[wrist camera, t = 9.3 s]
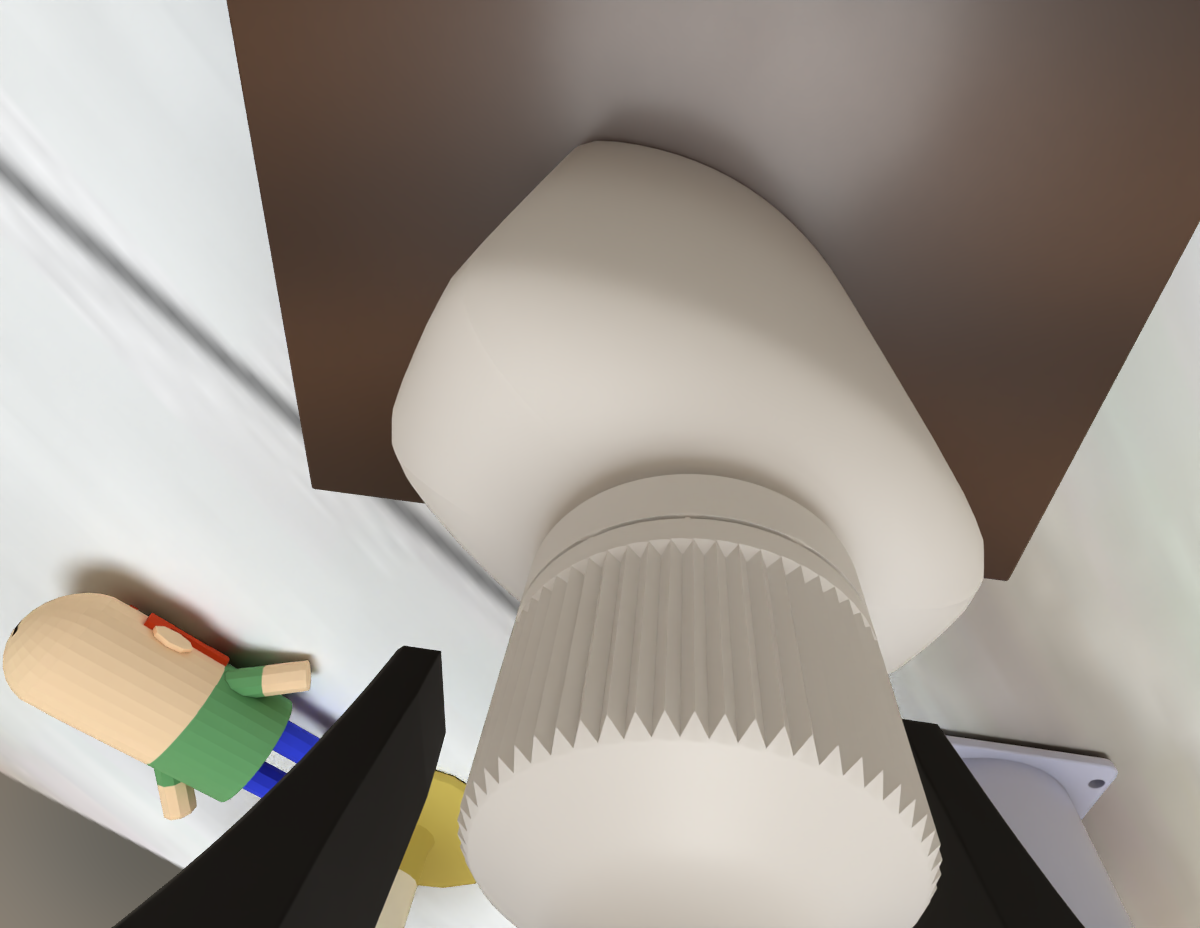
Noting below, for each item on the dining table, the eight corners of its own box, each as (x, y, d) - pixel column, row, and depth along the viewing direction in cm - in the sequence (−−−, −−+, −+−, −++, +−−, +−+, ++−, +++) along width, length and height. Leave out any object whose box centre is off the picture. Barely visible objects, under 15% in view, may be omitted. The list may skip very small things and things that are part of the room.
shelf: (940, 464, 19) (1047, 650, 14) (389, 394, 20) (267, 543, 14) (1158, -67, 13) (1543, -149, 7) (340, -137, 14) (80, -263, 8)
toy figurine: (384, 675, 30) (129, 509, 26) (380, 742, 26) (74, 559, 22) (257, 806, 30) (-18, 665, 26) (233, 894, 26) (-99, 744, 22)
